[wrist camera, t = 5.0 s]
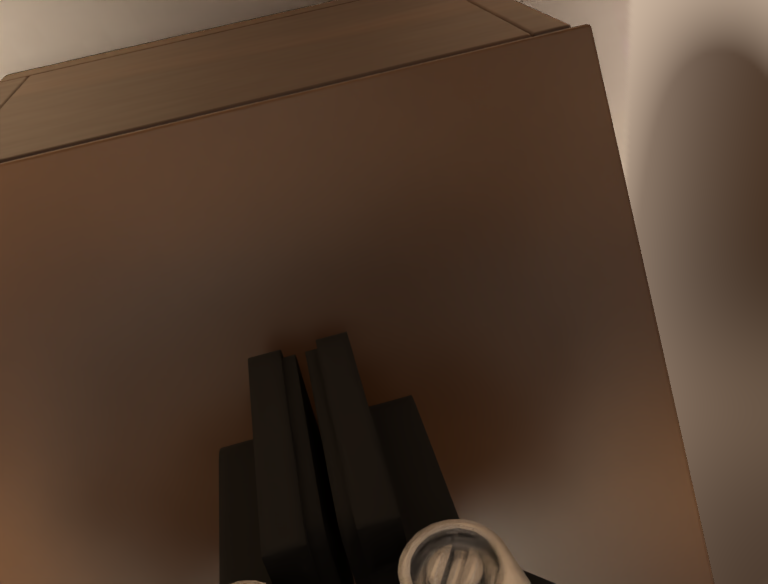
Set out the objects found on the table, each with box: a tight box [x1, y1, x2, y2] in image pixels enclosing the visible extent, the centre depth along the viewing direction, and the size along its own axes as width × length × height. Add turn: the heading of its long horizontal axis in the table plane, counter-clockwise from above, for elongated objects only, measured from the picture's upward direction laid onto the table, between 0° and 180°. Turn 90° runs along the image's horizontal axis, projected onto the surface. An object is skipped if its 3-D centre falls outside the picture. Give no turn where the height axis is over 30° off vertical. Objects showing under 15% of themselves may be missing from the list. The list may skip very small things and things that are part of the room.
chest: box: [0, 0, 571, 163], centre depth 21 cm, size 20×13×8 cm, turn 10°
